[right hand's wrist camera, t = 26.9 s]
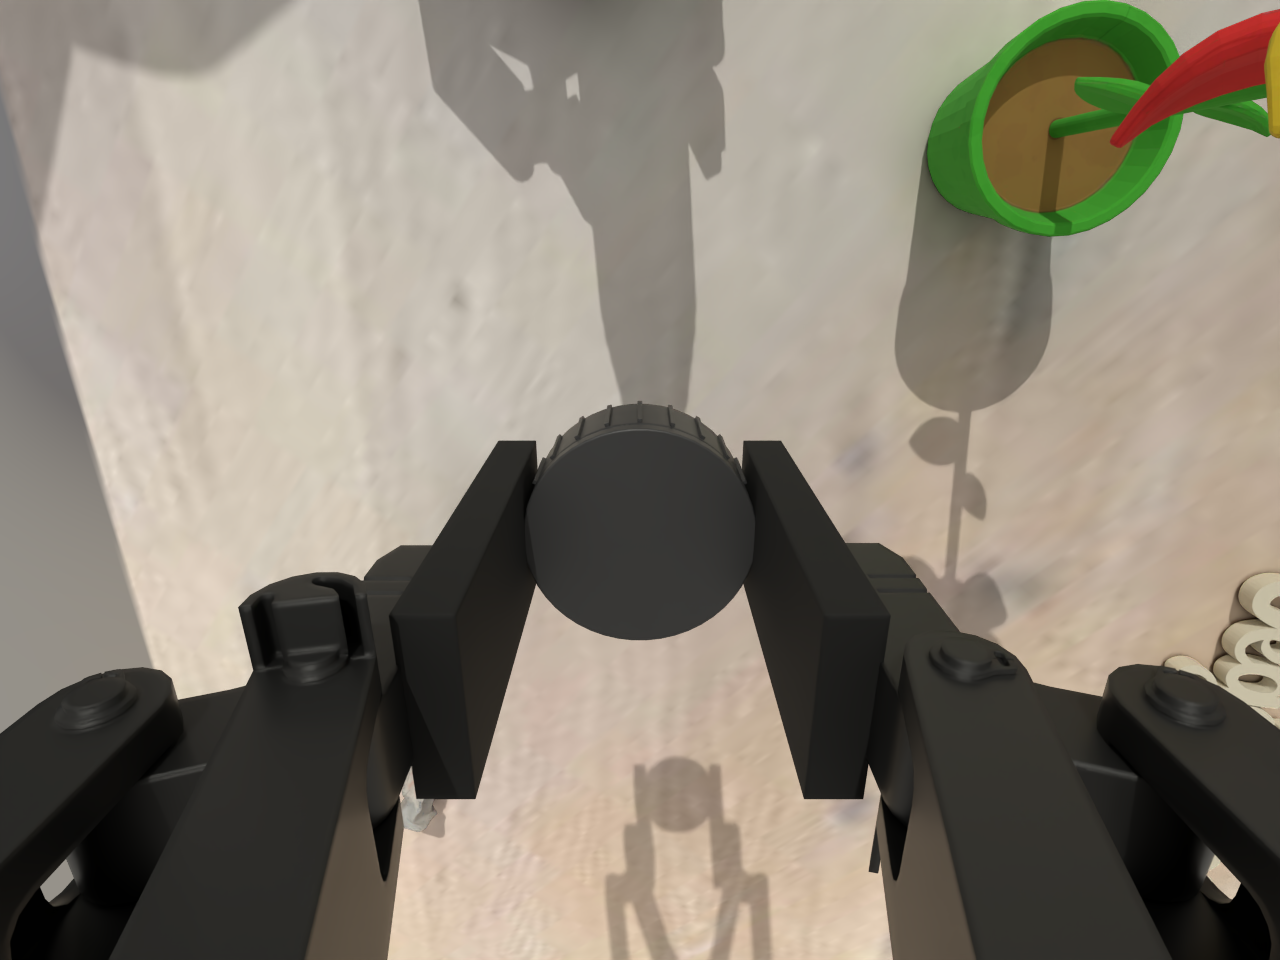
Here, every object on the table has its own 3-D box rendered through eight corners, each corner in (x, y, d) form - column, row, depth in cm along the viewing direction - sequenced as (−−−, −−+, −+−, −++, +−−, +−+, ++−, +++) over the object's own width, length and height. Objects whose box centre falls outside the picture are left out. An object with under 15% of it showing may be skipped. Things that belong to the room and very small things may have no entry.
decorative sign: (1214, 554, 38) (1397, 553, 38) (1201, 546, 39) (1380, 545, 39) (1104, 896, 47) (1250, 896, 47) (1095, 883, 48) (1239, 883, 48)
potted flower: (871, 207, 33) (1444, 183, 9) (934, 18, 30) (1973, -690, 7) (1055, 256, 33) (2017, 347, 10) (1133, 76, 31) (2705, -375, 7)
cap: (759, 407, 14) (776, 434, 12) (733, 602, 15) (745, 650, 13) (535, 392, 13) (521, 417, 12) (532, 590, 15) (519, 636, 13)
